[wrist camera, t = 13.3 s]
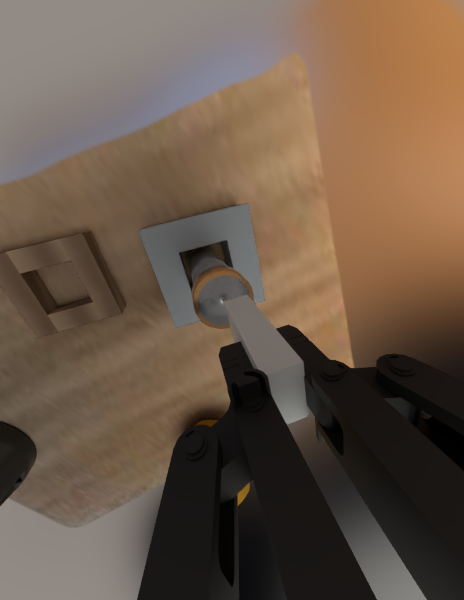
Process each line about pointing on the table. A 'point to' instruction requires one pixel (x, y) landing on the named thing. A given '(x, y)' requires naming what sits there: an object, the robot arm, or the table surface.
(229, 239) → the socket
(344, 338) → the table surface
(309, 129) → the table surface
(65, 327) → the mount
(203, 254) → the pin
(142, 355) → the table surface
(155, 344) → the table surface
